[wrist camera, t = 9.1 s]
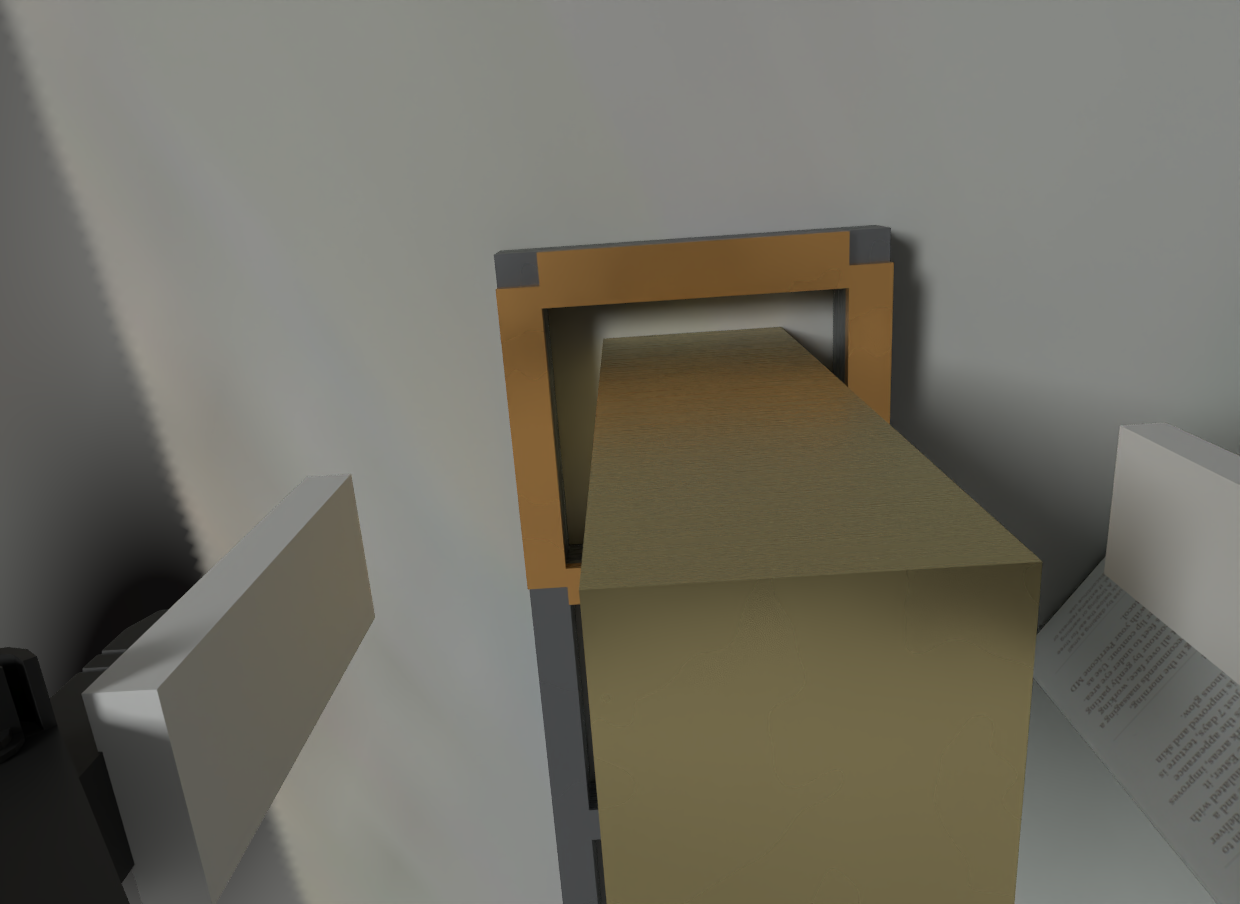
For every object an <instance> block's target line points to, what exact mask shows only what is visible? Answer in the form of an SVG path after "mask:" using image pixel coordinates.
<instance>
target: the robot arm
mask: <svg viewBox="0 0 1240 904" xmlns="http://www.w3.org/2000/svg"><path fill="white" fill-rule="evenodd" d="M1104 574H1105V575H1106V576H1107V577H1109V578H1110V579H1111V580H1112V581H1113V582H1115V583H1116V584H1117V585H1118V586H1120V587H1121V588H1122V589H1123V590H1124V591H1126V592H1127V593H1128V594H1129V595H1130V596H1132V597H1133V598H1134V599H1135V600H1137V601H1138V602H1139V603H1140V604H1141V605H1143V606H1144V607H1145V608H1146V609H1147V610H1149V611H1150V612H1151V613H1152V614H1154V615H1155V616H1156V617H1157V618H1158V619H1160V620H1161V621H1162V622H1163V623H1164V624H1166V625H1167V626H1168V627H1169V628H1171V629H1172V630H1173V631H1174V632H1175V633H1177V634H1178V635H1179V636H1180V637H1181V638H1183V639H1184V640H1185V641H1186V642H1188V643H1189V644H1190V645H1191V646H1192V647H1194V648H1195V649H1196V650H1197V651H1198V652H1200V653H1201V654H1202V655H1203V656H1205V657H1206V658H1207V659H1208V660H1209V661H1211V662H1212V663H1213V664H1214V665H1215V666H1217V667H1218V668H1219V669H1220V670H1222V671H1223V672H1224V673H1225V674H1226V675H1228V676H1229V677H1230V678H1231V679H1232V680H1234V681H1235V682H1236V683H1237V684H1239V685H1240V456H1239V455H1236V454H1234V453H1232V452H1230V451H1228V450H1225V449H1223V448H1221V447H1219V446H1217V445H1214V444H1212V443H1210V442H1208V441H1206V440H1203V439H1201V438H1199V437H1197V436H1195V435H1192V434H1190V433H1188V432H1186V431H1183V430H1181V429H1179V428H1177V427H1175V426H1172V425H1170V424H1168V423H1150V424H1134V425H1120V430H1119V440H1118V449H1117V458H1116V467H1115V476H1114V485H1113V494H1112V504H1111V513H1110V522H1109V531H1108V540H1107V549H1106V558H1105V568H1104ZM374 618H375V614H374V608H373V602H372V596H371V590H370V584H369V578H368V572H367V566H366V560H365V554H364V548H363V542H362V536H361V530H360V524H359V518H358V512H357V506H356V500H355V494H354V488H353V482H352V477H351V474H342V475H326V476H310V477H306V478H305V479H304V480H303V481H302V482H301V483H300V484H299V485H298V486H297V487H296V488H295V489H294V490H293V491H292V492H291V493H290V494H289V495H287V496H286V497H285V498H284V499H283V500H282V501H281V502H280V503H279V504H278V505H277V506H276V507H275V508H274V509H273V510H272V511H271V512H270V513H269V514H268V515H267V516H266V517H265V518H264V519H263V520H261V521H260V522H259V523H258V524H257V525H256V526H255V527H254V528H253V529H252V530H251V531H250V532H249V533H248V534H247V535H246V536H245V537H244V538H243V539H242V540H241V541H240V542H239V543H238V544H237V545H235V546H234V547H233V548H232V549H231V550H230V551H229V552H228V553H227V554H226V555H225V556H224V557H223V558H222V559H221V560H220V561H219V562H218V563H217V564H216V565H215V566H214V567H213V568H212V569H211V570H210V571H208V572H207V573H206V574H205V575H204V576H203V577H202V578H201V579H200V580H199V581H198V582H197V583H196V584H195V585H194V586H193V587H192V588H191V589H190V590H189V591H188V592H187V593H186V594H185V595H184V596H182V598H180V599H179V601H177V602H176V603H175V604H174V605H173V606H172V607H171V608H170V609H169V610H160V611H158V612H156V613H154V614H152V615H150V616H149V617H147V618H145V619H143V620H141V621H140V622H138V623H136V624H134V625H132V626H130V627H129V628H127V629H125V630H124V631H123V632H122V633H121V634H120V635H119V636H118V637H116V638H115V639H114V640H113V641H112V642H111V643H110V644H109V645H108V646H107V647H106V648H104V649H103V650H102V655H97V656H96V657H95V658H94V659H92V660H91V661H90V662H89V663H88V664H87V665H86V666H85V667H84V668H83V672H82V673H77V674H76V675H75V676H74V677H73V678H72V679H71V680H70V681H68V682H67V683H66V684H65V685H64V686H63V687H62V688H61V689H60V690H59V691H58V692H56V694H54V695H53V696H52V697H51V698H49V695H48V692H47V689H46V685H45V682H44V679H43V676H42V672H41V669H40V665H39V662H38V659H37V656H36V655H34V654H33V653H32V652H30V651H29V650H28V649H20V648H11V647H6V648H0V904H129V901H128V898H127V896H126V894H125V891H124V889H123V886H122V884H121V883H122V882H123V880H124V879H125V878H126V876H127V875H128V873H129V872H130V870H131V869H132V871H133V874H134V878H135V881H136V885H137V888H138V892H139V895H140V899H141V902H142V904H216V903H217V901H218V899H219V898H220V896H221V894H222V892H223V890H224V889H225V887H226V885H227V883H228V881H229V880H230V878H231V876H232V874H233V872H234V871H235V869H236V867H237V865H238V863H239V861H240V860H241V858H242V856H243V854H244V853H245V851H246V849H247V847H248V845H249V844H250V842H251V840H252V838H253V836H254V835H255V833H256V831H257V829H258V827H259V826H260V824H261V822H262V820H263V818H264V817H265V815H266V813H267V811H268V809H269V808H270V806H271V804H272V802H273V800H274V799H275V797H276V795H277V793H278V791H279V789H280V788H281V786H282V784H283V782H284V780H285V779H286V777H287V775H288V773H289V771H290V770H291V768H292V766H293V764H294V762H295V761H296V759H297V757H298V755H299V753H300V752H301V750H302V748H303V746H304V744H305V743H306V741H307V739H308V737H309V735H310V734H311V732H312V730H313V728H314V726H315V725H316V723H317V721H318V719H319V717H320V716H321V714H322V712H323V710H324V708H325V707H326V705H327V703H328V701H329V699H330V698H331V696H332V694H333V692H334V690H335V689H336V687H337V685H338V683H339V681H340V680H341V678H342V676H343V674H344V672H345V671H346V669H347V667H348V665H349V663H350V661H351V660H352V658H353V656H354V654H355V652H356V651H357V649H358V647H359V645H360V643H361V642H362V640H363V638H364V636H365V634H366V633H367V631H368V629H369V627H370V625H371V624H372V622H373V620H374Z"/></svg>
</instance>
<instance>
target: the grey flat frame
mask: <svg viewBox="0 0 1240 904" xmlns="http://www.w3.org/2000/svg"><path fill="white" fill-rule="evenodd" d="M890 238H891V228H890V227H884V226H878V225H870V226H855V227H841V228H826V229H811V230H797V231H782V232H767V233H753V234H738V235H723V236H709V237H694V238H679V239H665V240H650V241H635V242H621V243H606V244H591V245H577V246H562V247H547V248H533V249H518V250H504V251H499V252H498V253H496V254H494V260H495V270H496V279H497V289H496V297H497V306H498V316H499V325H500V334H501V344H502V353H503V362H504V372H505V381H506V390H507V400H508V409H509V418H510V428H511V437H512V446H513V455H514V465H515V474H516V483H517V493H518V502H519V511H520V521H521V530H522V539H523V549H524V558H525V567H526V577H527V586H528V589H530V598H531V607H532V617H533V626H534V636H535V645H536V654H537V664H538V673H539V683H540V692H541V701H542V711H543V720H544V730H545V739H546V748H547V758H548V767H549V776H550V786H551V795H552V805H553V814H554V823H555V833H556V842H557V852H558V861H559V870H560V880H561V889H562V898H563V904H601V894H600V883H599V871H598V860H597V849H596V840H598V839H601V834H600V823H599V811H598V800H597V789H596V782H590V772H589V761H588V750H587V739H586V728H585V717H584V706H583V695H582V684H581V673H580V661H579V650H578V639H577V628H576V617H575V606H574V605H575V604H580V596H579V584H580V574H581V564H582V553H583V544H578V545H569V540H568V529H567V518H566V507H565V496H564V485H563V474H562V462H561V451H560V440H559V429H558V418H557V407H556V396H555V385H554V374H553V363H552V352H551V341H550V330H549V319H548V308H558V307H573V306H588V305H603V304H618V303H633V302H648V301H663V300H678V299H692V298H707V297H722V296H737V295H752V294H767V293H782V292H797V291H812V290H827V289H834V295H833V374H834V375H835V376H836V377H837V378H838V379H839V380H840V381H842V382H843V383H844V384H845V385H846V386H847V387H848V388H849V389H851V390H852V391H853V392H854V393H855V394H856V395H857V396H858V397H859V398H861V399H862V400H863V401H864V402H865V403H866V404H867V405H868V406H869V407H871V408H872V409H873V410H874V411H875V412H876V413H877V414H878V415H879V416H881V417H882V418H883V419H884V420H885V421H886V422H887V423H888V424H890V395H891V356H892V317H893V277H894V263H893V262H890Z"/></svg>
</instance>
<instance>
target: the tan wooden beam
mask: <svg viewBox="0 0 1240 904" xmlns="http://www.w3.org/2000/svg"><path fill="white" fill-rule="evenodd" d="M1041 574H1042V561H1041V560H1040V559H1039V558H1038V557H1037V556H1036V555H1034V554H1033V553H1032V552H1031V551H1030V550H1029V549H1028V548H1027V547H1026V546H1024V545H1023V544H1022V543H1021V542H1020V541H1019V540H1018V539H1017V538H1015V537H1014V536H1013V535H1012V534H1011V533H1010V532H1009V531H1008V530H1007V529H1005V528H1004V527H1003V526H1002V525H1001V524H1000V523H999V522H998V521H997V520H995V519H994V518H993V517H992V516H991V515H990V514H989V513H988V512H987V511H985V510H984V509H983V508H982V507H981V506H980V505H979V504H978V503H976V502H975V501H974V500H973V499H972V498H971V497H970V496H969V495H968V494H966V493H965V492H964V491H963V490H962V489H961V488H960V487H959V486H958V485H956V484H955V483H954V482H953V481H952V480H951V479H950V478H949V477H947V476H946V475H945V474H944V473H943V472H942V471H941V470H940V469H939V468H937V467H936V466H935V465H934V464H933V463H932V462H931V461H930V460H929V459H927V458H926V457H925V456H924V455H923V454H922V453H921V452H920V451H919V450H917V449H916V448H915V447H914V446H913V445H912V444H911V443H910V442H908V441H907V440H906V439H905V438H904V437H903V436H902V435H901V434H900V433H898V432H897V431H896V430H895V429H894V428H893V427H892V426H891V425H890V424H888V423H887V422H886V421H885V420H884V419H883V418H882V417H881V416H879V415H878V414H877V413H876V412H875V411H874V410H873V409H872V408H871V407H869V406H868V405H867V404H866V403H865V402H864V401H863V400H862V399H861V398H859V397H858V396H857V395H856V394H855V393H854V392H853V391H852V390H851V389H849V388H848V387H847V386H846V385H845V384H844V383H843V382H842V381H840V380H839V379H838V378H837V377H836V376H835V375H834V374H833V373H832V372H830V371H829V370H828V369H827V368H826V367H825V366H824V365H823V364H822V363H820V362H819V361H818V360H817V359H816V358H815V357H814V356H813V355H811V354H810V353H809V352H808V351H807V350H806V349H805V348H804V347H803V346H801V345H800V344H799V343H798V342H797V341H796V340H795V339H794V338H793V337H791V336H790V335H789V334H788V333H787V332H786V331H785V330H784V329H783V328H781V327H773V328H757V329H742V330H727V331H712V332H697V333H682V334H667V335H652V336H637V337H622V338H607V339H603V347H602V357H601V367H600V378H599V388H598V398H597V409H596V419H595V429H594V440H593V450H592V460H591V471H590V481H589V491H588V502H587V512H586V522H585V533H584V543H583V553H582V564H581V574H580V584H579V596H580V608H581V619H582V630H583V642H584V653H585V664H586V675H587V687H588V698H589V709H590V721H591V732H592V743H593V755H594V766H595V777H596V789H597V800H598V811H599V823H600V834H601V845H602V857H603V868H604V879H605V891H606V902H607V904H1014V901H1015V889H1016V877H1017V865H1018V853H1019V840H1020V828H1021V816H1022V804H1023V792H1024V780H1025V768H1026V756H1027V743H1028V731H1029V719H1030V707H1031V695H1032V683H1033V671H1034V659H1035V646H1036V634H1037V622H1038V610H1039V598H1040V586H1041Z"/></svg>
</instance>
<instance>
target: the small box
mask: <svg viewBox="0 0 1240 904" xmlns="http://www.w3.org/2000/svg"><path fill="white" fill-rule="evenodd" d="M1105 558H1106V556H1105V557H1104V559H1103V560H1102V561H1101V562H1100V563H1099V564H1098V565H1097V567H1096V568H1095V569H1094V570H1093V571H1092V572H1091V573H1090V575H1089V576H1088V577H1087V578H1086V579H1085V580H1084V581H1083V583H1082V584H1081V585H1080V586H1079V587H1078V588H1077V589H1076V591H1075V592H1074V593H1073V594H1072V595H1071V596H1070V597H1069V599H1068V600H1067V601H1066V602H1065V603H1064V604H1063V605H1062V607H1061V608H1060V609H1059V610H1058V611H1057V612H1056V614H1055V615H1054V616H1053V617H1052V618H1051V619H1050V620H1049V621H1048V623H1047V624H1046V625H1045V626H1044V627H1043V628H1042V629H1041V631H1040V632H1039V633H1038V634H1037V635H1036V646H1035V659H1034V671H1033V678H1034V679H1035V680H1036V682H1037V683H1038V684H1039V685H1040V687H1041V688H1042V689H1043V690H1044V691H1045V693H1046V694H1047V695H1048V696H1049V698H1050V699H1051V700H1052V701H1053V703H1054V704H1055V705H1056V706H1057V707H1058V709H1059V710H1060V711H1061V712H1062V713H1063V715H1064V716H1065V717H1066V718H1067V720H1068V721H1069V722H1070V723H1071V724H1072V726H1073V727H1074V728H1075V729H1076V731H1077V732H1078V733H1079V734H1080V736H1081V737H1082V738H1083V739H1084V740H1085V742H1086V743H1087V744H1088V745H1089V746H1090V748H1091V749H1092V750H1093V751H1094V753H1095V754H1096V755H1097V756H1098V757H1099V759H1100V760H1101V761H1102V763H1103V764H1104V765H1105V766H1106V768H1107V769H1108V770H1109V771H1110V773H1111V774H1112V775H1113V776H1114V777H1115V779H1116V780H1117V781H1118V782H1119V784H1120V785H1121V786H1122V787H1123V788H1124V790H1125V791H1126V792H1127V793H1128V795H1129V796H1130V797H1131V798H1132V800H1133V801H1134V802H1135V803H1136V805H1137V806H1138V807H1139V808H1140V809H1141V811H1142V812H1143V813H1144V814H1145V816H1146V817H1147V818H1148V819H1149V821H1150V822H1151V823H1152V824H1153V826H1154V827H1155V828H1156V829H1157V831H1158V832H1159V833H1160V834H1161V836H1162V837H1163V838H1164V839H1165V840H1166V842H1167V843H1168V844H1169V845H1170V847H1171V848H1172V849H1173V850H1174V851H1175V853H1176V854H1177V855H1178V856H1179V857H1180V859H1181V860H1182V861H1183V862H1184V864H1185V865H1186V866H1187V867H1188V868H1189V870H1190V871H1191V872H1192V873H1193V875H1194V876H1195V877H1196V878H1197V880H1198V881H1199V882H1200V883H1201V884H1202V886H1203V887H1204V888H1205V889H1206V891H1207V892H1208V893H1209V894H1210V896H1211V897H1212V898H1213V899H1214V900H1215V902H1216V903H1217V904H1240V685H1239V684H1237V683H1236V682H1235V681H1234V680H1232V679H1231V678H1230V677H1229V676H1228V675H1226V674H1225V673H1224V672H1223V671H1222V670H1220V669H1219V668H1218V667H1217V666H1215V665H1214V664H1213V663H1212V662H1211V661H1209V660H1208V659H1207V658H1206V657H1205V656H1203V655H1202V654H1201V653H1200V652H1198V651H1197V650H1196V649H1195V648H1194V647H1192V646H1191V645H1190V644H1189V643H1188V642H1186V641H1185V640H1184V639H1183V638H1181V637H1180V636H1179V635H1178V634H1177V633H1175V632H1174V631H1173V630H1172V629H1171V628H1169V627H1168V626H1167V625H1166V624H1164V623H1163V622H1162V621H1161V620H1160V619H1158V618H1157V617H1156V616H1155V615H1154V614H1152V613H1151V612H1150V611H1149V610H1147V609H1146V608H1145V607H1144V606H1143V605H1141V604H1140V603H1139V602H1138V601H1137V600H1135V599H1134V598H1133V597H1132V596H1130V595H1129V594H1128V593H1127V592H1126V591H1124V590H1123V589H1122V588H1121V587H1120V586H1118V585H1117V584H1116V583H1115V582H1113V581H1112V580H1111V579H1110V578H1109V577H1107V576H1106V575H1105V574H1104V568H1105Z"/></svg>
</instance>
